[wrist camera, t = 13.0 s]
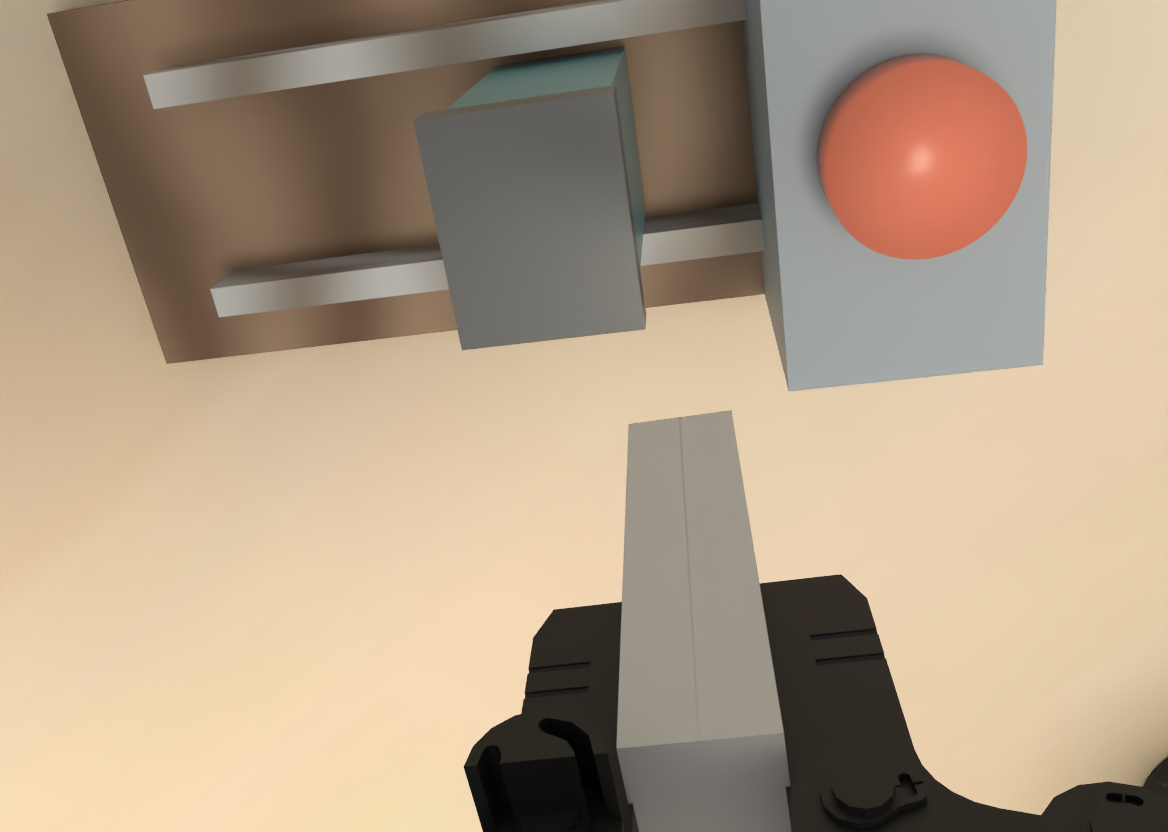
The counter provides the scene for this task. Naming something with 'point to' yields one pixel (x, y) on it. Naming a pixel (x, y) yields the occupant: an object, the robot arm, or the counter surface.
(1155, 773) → the travel mug
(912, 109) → the button
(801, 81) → the cabinet
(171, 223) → the rail track
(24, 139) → the counter surface
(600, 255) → the carriage
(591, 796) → the robot arm
